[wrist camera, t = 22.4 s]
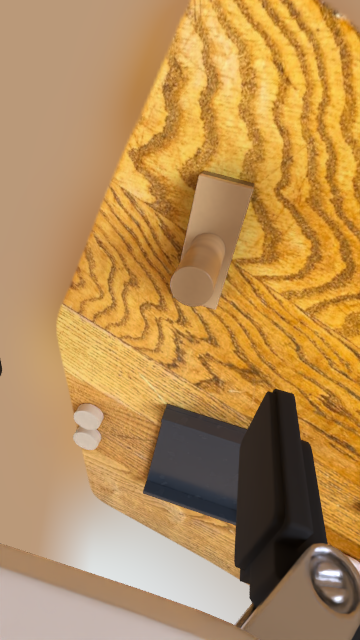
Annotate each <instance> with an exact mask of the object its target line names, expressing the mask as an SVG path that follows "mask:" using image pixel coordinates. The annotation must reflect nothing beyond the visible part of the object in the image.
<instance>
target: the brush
mask: <svg viewBox="0 0 360 640" xmlns="http://www.w3.org/2000/svg"><path fill="white" fill-rule="evenodd" d="M253 189H254V183H250V182H246V181H242V180H238V179H235V178H231V177H227V176H223V175H219V174H215V173H211V172H208V171H203V172H202V173H201V174H200V175H199V176H198V181H197V186H196V190H195V195H194V200H193V204H192V209H191V213H190V218H189V223H188V227H187V232H186V237H185V241H184V246H183V251H182V255H181V260H180V264H179V265H178V267H177V269H176V270H175V272H174V274H173V275H172V278H171V281H170V288H171V292H172V294H173V297H174V298H176V299H177V300H178V301H179V302H181V303H182V304H184V305H187V306H200V305H201V306H204V307H208V308H211V309H215V310H216V308H217V305H218V301H219V298H220V295H221V292H222V289H223V285H224V282H225V279H226V276H227V273H228V269H229V266H230V263H231V260H232V257H233V253H234V250H235V247H236V244H237V241H238V237H239V234H240V231H241V228H242V225H243V221H244V218H245V215H246V212H247V209H248V205H249V202H250V199H251V196H252V193H253Z"/></svg>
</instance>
